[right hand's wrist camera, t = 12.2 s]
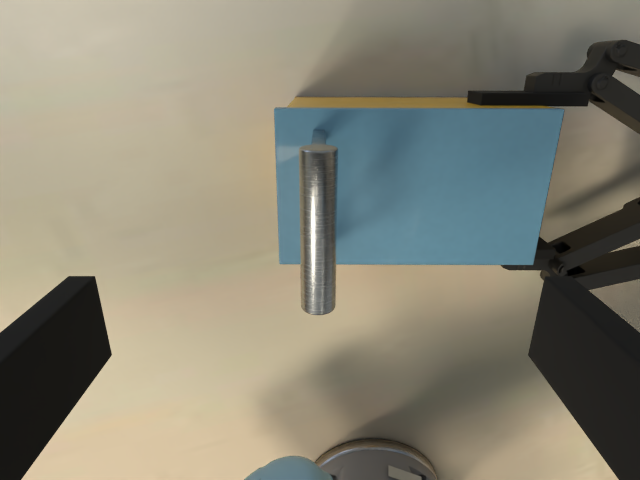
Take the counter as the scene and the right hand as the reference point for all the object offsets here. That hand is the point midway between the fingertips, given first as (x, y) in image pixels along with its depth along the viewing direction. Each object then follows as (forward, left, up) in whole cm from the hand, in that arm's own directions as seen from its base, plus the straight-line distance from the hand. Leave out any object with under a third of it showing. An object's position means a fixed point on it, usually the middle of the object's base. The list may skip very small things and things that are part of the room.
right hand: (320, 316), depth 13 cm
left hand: (+6, -8, -18) cm, 20 cm away
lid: (+3, -4, -15) cm, 16 cm away
